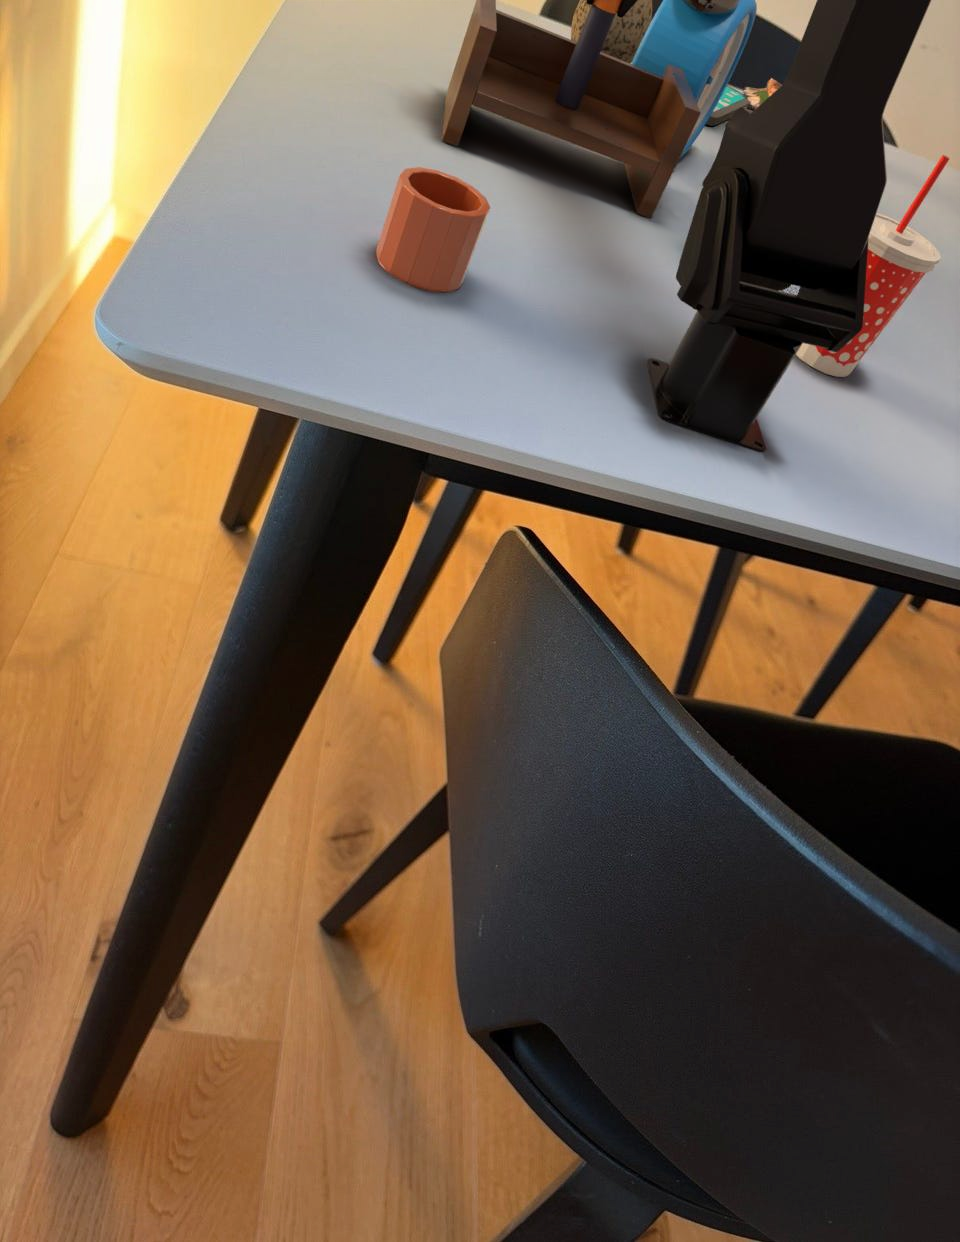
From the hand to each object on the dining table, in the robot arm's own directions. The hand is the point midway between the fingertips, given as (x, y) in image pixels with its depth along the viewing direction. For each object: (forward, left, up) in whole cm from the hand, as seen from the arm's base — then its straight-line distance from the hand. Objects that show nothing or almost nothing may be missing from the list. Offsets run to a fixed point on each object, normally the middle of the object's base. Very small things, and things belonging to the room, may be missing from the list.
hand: (603, 9), depth 77 cm
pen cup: (-27, +9, -11) cm, 30 cm away
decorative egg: (+28, -6, -11) cm, 31 cm away
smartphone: (+33, -18, -11) cm, 39 cm away
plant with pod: (+38, -29, -11) cm, 49 cm away
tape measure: (-10, -14, -11) cm, 20 cm away
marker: (0, 0, -7) cm, 7 cm away
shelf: (0, 0, -11) cm, 11 cm away
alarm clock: (+12, -10, -11) cm, 19 cm away
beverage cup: (-19, -19, -11) cm, 29 cm away
